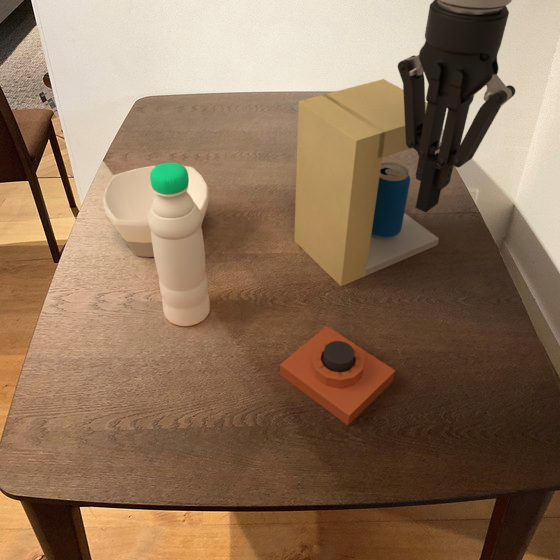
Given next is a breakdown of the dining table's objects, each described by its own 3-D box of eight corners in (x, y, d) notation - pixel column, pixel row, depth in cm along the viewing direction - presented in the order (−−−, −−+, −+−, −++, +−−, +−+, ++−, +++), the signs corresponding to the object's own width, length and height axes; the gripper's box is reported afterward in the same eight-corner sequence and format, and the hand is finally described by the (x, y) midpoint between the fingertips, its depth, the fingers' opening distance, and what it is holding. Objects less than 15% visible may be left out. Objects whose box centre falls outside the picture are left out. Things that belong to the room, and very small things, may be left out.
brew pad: (393, 381, 79) (397, 361, 76) (347, 426, 73) (350, 407, 71) (325, 336, 85) (327, 317, 82) (279, 374, 80) (279, 355, 77)
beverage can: (371, 215, 106) (379, 157, 98) (405, 225, 103) (416, 166, 95) (358, 234, 101) (366, 175, 93) (394, 245, 99) (404, 185, 91)
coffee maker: (437, 245, 102) (471, 105, 84) (340, 286, 93) (356, 140, 76) (386, 206, 110) (407, 72, 93) (294, 241, 102) (298, 100, 85)
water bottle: (214, 298, 91) (201, 156, 74) (205, 330, 86) (190, 186, 69) (170, 294, 91) (148, 153, 75) (159, 326, 86) (132, 182, 70)
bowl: (112, 275, 95) (101, 229, 89) (111, 214, 108) (101, 170, 101) (220, 260, 98) (216, 214, 92) (206, 202, 111) (202, 159, 105)
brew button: (359, 360, 77) (360, 351, 76) (340, 377, 75) (341, 368, 74) (335, 344, 79) (336, 336, 78) (316, 361, 77) (317, 352, 76)
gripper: (552, 8, 55) (489, 214, 70) (433, -19, 61) (400, 174, 77) (514, 27, 50) (457, 241, 66) (392, -4, 57) (366, 197, 73)
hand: (426, 205), depth 71 cm, fingers closed
